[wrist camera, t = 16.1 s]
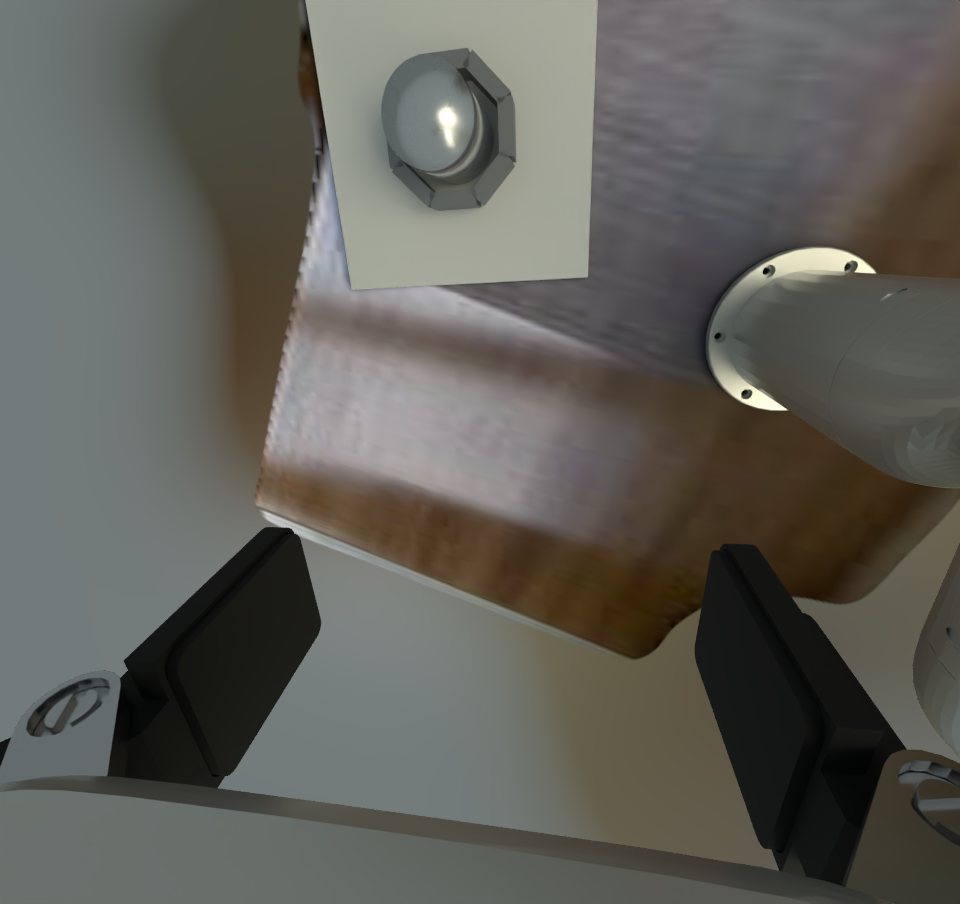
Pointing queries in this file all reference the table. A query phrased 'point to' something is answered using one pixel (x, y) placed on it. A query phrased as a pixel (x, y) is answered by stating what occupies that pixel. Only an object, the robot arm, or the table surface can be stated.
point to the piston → (436, 120)
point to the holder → (516, 149)
